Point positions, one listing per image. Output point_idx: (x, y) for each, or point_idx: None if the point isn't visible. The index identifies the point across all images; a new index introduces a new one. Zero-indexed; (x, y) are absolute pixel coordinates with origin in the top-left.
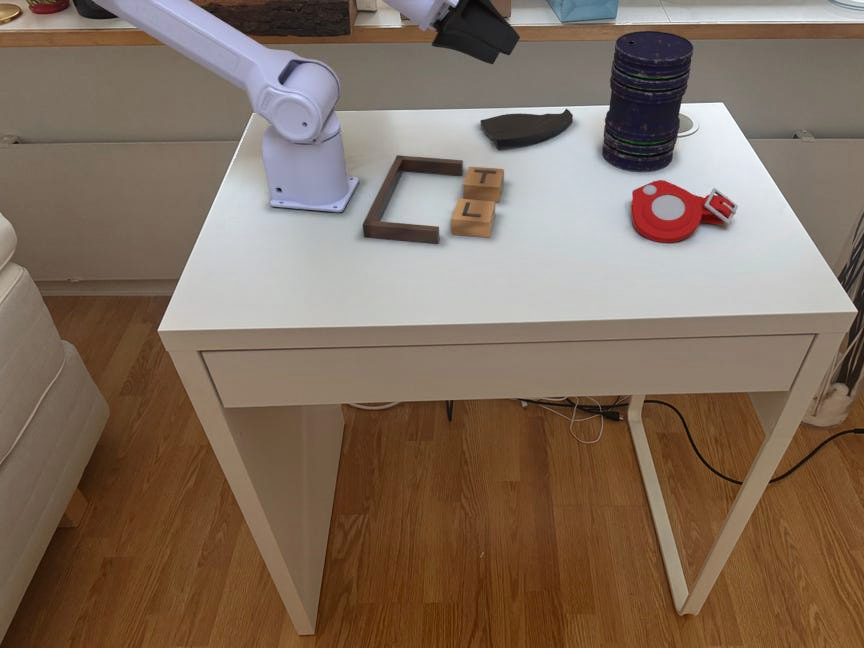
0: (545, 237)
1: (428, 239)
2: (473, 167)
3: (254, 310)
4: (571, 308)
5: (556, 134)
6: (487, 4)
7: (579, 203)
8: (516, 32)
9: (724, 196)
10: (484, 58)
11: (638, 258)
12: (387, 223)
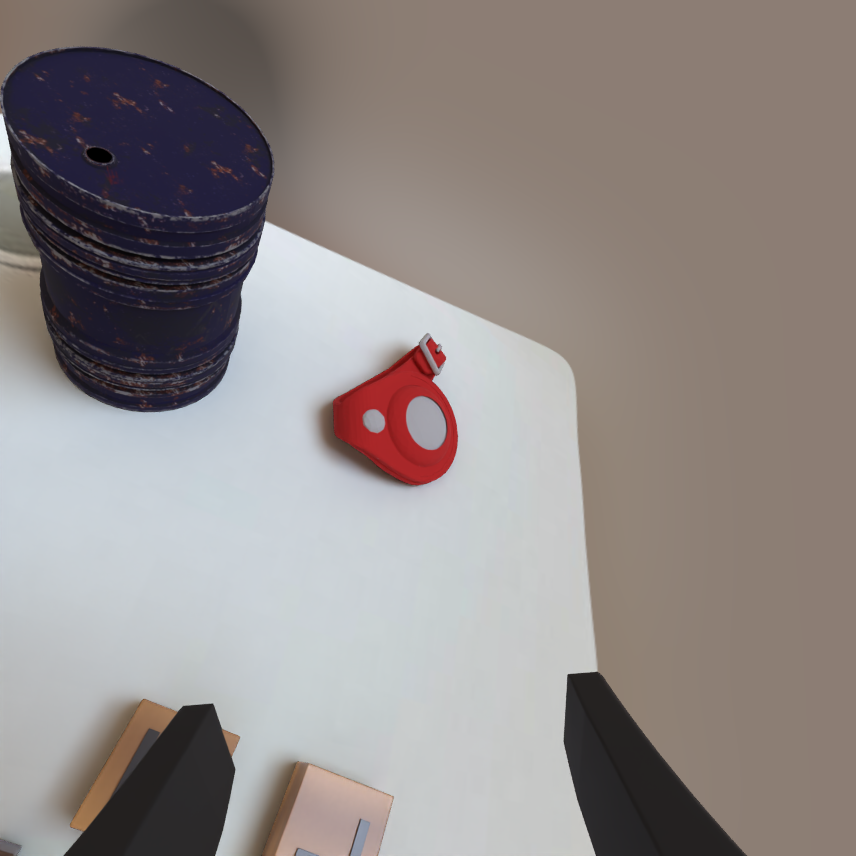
0: (397, 655)
1: None
2: (85, 809)
3: None
4: (577, 670)
5: None
6: None
7: (297, 541)
8: (610, 690)
9: (427, 339)
10: (216, 833)
11: (476, 516)
12: None
